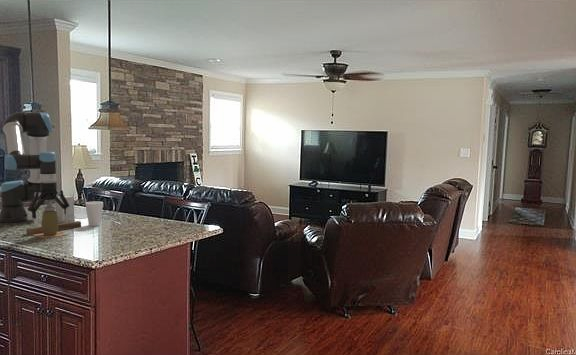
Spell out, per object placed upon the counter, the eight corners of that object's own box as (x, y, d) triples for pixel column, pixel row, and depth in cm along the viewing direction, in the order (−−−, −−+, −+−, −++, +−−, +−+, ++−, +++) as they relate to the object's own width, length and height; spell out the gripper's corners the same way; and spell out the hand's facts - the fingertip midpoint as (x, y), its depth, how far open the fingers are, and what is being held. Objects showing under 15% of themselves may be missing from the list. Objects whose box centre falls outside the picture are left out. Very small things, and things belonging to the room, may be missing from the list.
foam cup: (87, 227, 266) (87, 204, 264) (84, 224, 273) (83, 202, 272) (105, 225, 271) (104, 203, 270) (101, 222, 279) (101, 201, 277)
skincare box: (75, 222, 278) (74, 196, 276) (65, 224, 272) (64, 197, 270) (65, 221, 282) (64, 195, 280) (55, 222, 276) (54, 196, 274)
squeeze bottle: (61, 234, 245) (60, 200, 243) (44, 236, 239) (43, 201, 238) (55, 232, 251) (55, 198, 249) (39, 234, 245) (38, 199, 243)
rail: (26, 234, 246) (26, 228, 246) (78, 226, 268) (78, 220, 268) (41, 239, 236) (41, 233, 236) (94, 230, 258) (93, 225, 258)
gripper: (26, 184, 230) (27, 227, 232) (75, 180, 250) (76, 220, 252) (19, 183, 235) (21, 225, 237) (68, 179, 254) (69, 218, 257)
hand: (49, 222), depth 244 cm, fingers open, 13 cm apart
